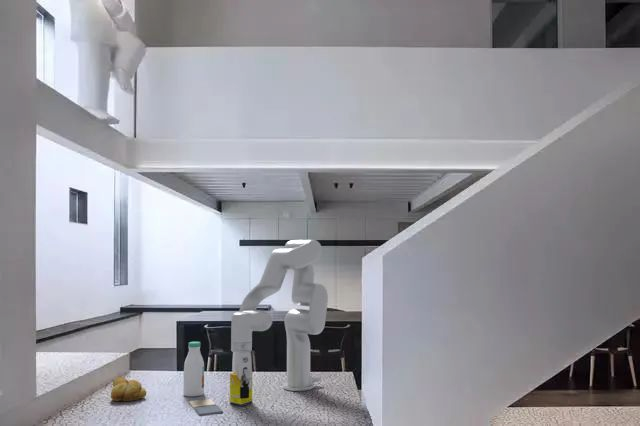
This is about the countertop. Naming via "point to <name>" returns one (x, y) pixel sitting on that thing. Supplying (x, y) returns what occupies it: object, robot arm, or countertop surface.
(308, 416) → the countertop surface
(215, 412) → the slate mat
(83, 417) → the countertop surface
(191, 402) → the cream square tile
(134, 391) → the bread roll
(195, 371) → the milk bottle
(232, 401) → the supplement box
